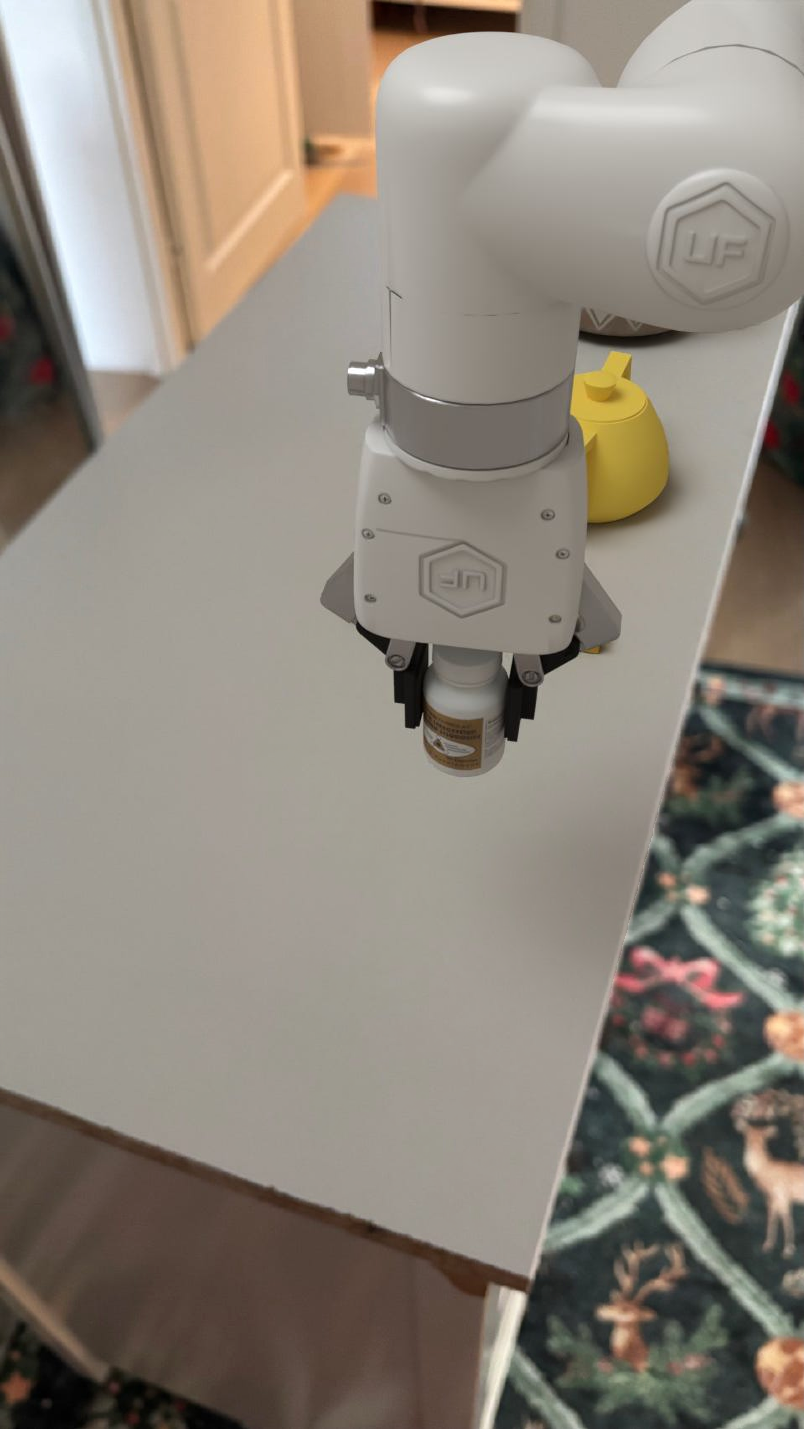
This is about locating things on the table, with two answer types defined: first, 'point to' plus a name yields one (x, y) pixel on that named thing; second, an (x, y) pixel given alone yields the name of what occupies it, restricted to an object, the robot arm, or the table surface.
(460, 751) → the pill bottle
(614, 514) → the teapot
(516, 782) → the table surface
